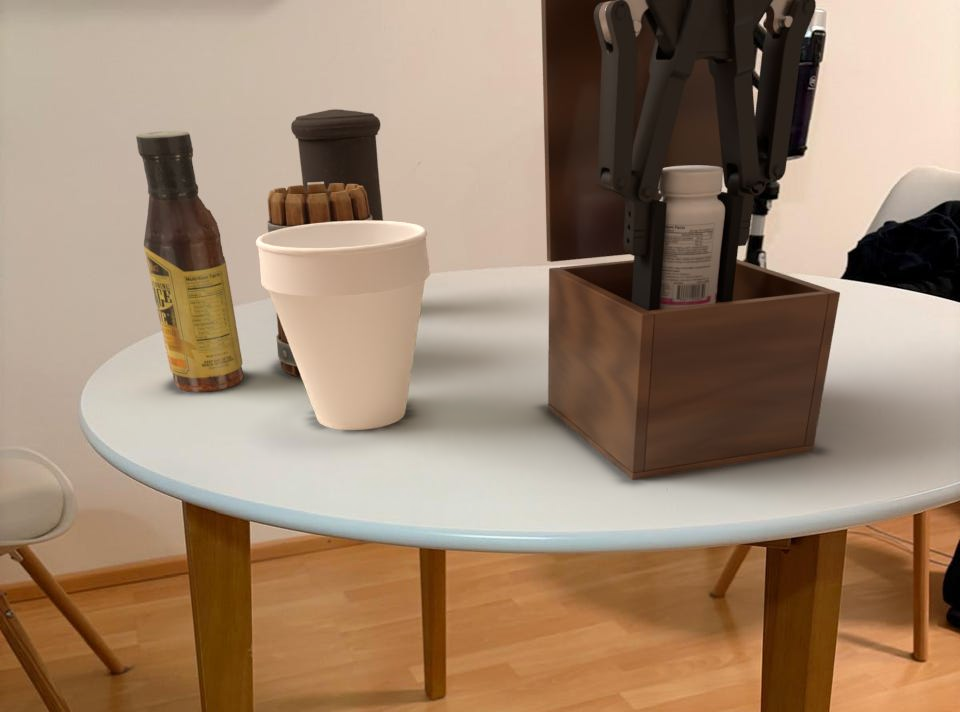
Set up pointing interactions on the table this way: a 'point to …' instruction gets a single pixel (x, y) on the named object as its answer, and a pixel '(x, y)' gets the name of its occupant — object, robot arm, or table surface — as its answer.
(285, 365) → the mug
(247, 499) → the table surface
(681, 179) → the pill bottle
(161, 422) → the table surface
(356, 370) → the white flower pot
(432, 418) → the table surface
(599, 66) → the lid
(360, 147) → the container
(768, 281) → the chest
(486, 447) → the table surface
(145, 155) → the sauce bottle
